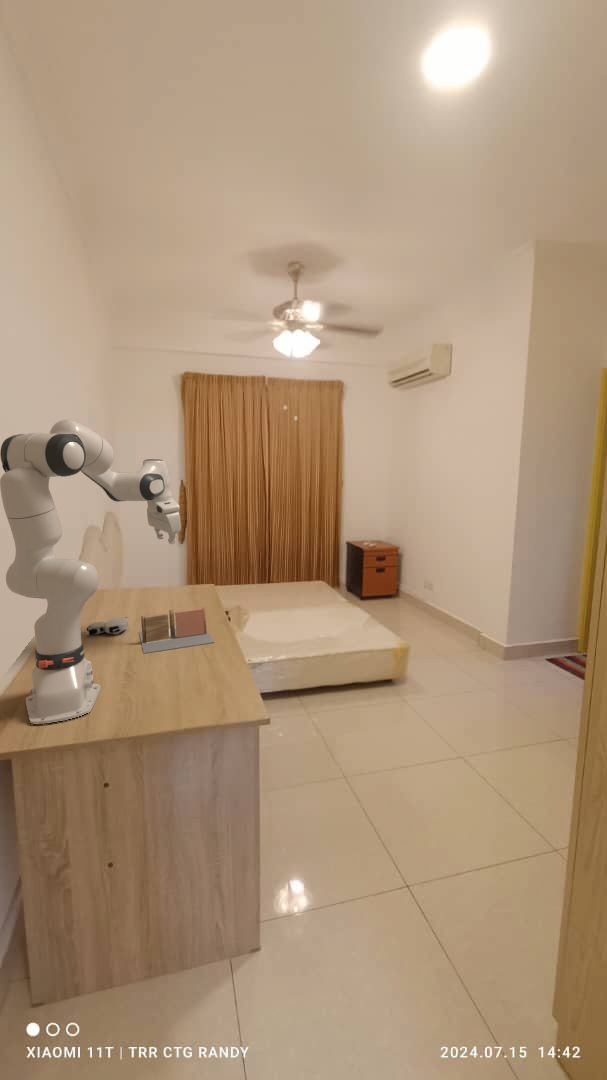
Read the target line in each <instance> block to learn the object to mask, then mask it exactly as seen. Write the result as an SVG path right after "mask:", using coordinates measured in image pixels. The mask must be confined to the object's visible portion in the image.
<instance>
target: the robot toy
mask: <svg viewBox="0 0 607 1080" xmlns="http://www.w3.org/2000/svg"><path fill="white" fill-rule="evenodd" d="M128 618H129V616H124V617H123V616H121V617H115V618H111V619H109V620H107V622H105V621H96V622H93V623H91V624H89V625H88V626H87V627H86V631H85V632H83V633H84V635H85V636H88V635H89V636H92V635H95V636H97V635H99V634H104V633H106V634H110V635H111V634H113V635H119V634H120V633H122V632H124V631H125V630H126V629H127V628H128V627H129V621H128Z"/></svg>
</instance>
